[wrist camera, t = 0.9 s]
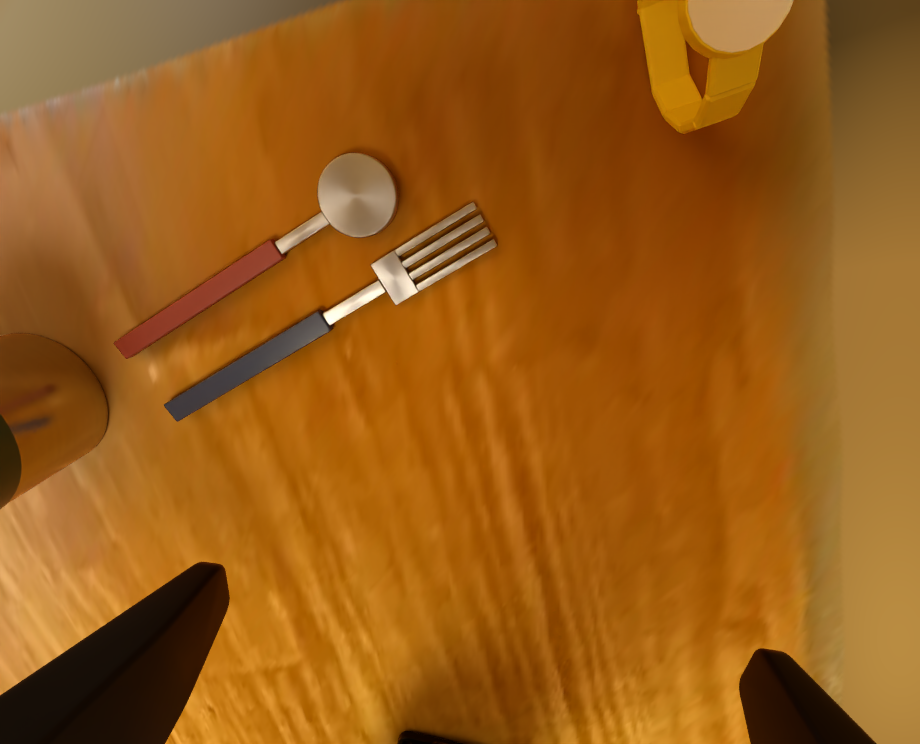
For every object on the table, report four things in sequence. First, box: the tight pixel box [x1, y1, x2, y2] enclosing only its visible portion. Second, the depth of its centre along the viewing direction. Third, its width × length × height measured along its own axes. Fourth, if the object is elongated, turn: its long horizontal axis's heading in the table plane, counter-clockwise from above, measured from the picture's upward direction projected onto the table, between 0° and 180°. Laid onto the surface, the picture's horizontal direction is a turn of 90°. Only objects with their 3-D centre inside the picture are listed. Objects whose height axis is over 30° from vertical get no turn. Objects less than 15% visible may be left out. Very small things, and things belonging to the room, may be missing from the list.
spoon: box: [114, 153, 399, 359], centre depth 21 cm, size 15×3×1 cm, turn 120°
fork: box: [164, 202, 497, 421], centre depth 22 cm, size 17×2×1 cm, turn 120°
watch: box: [637, 0, 793, 134], centre depth 15 cm, size 6×3×6 cm, turn 18°
